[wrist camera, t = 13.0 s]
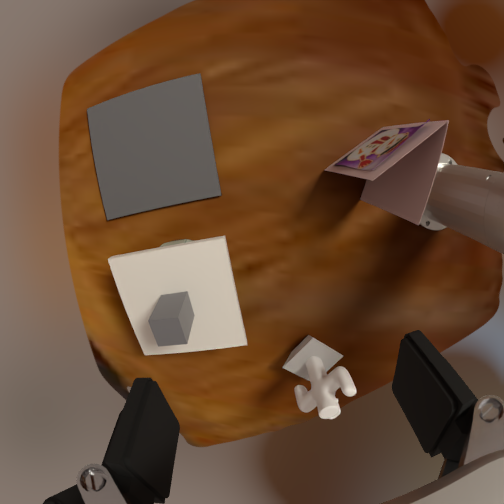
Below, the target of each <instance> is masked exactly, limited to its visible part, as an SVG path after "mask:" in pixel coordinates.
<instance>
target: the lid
mask: <svg viewBox="0 0 504 504" xmlns="http://www.w3.org/2000/svg"><path fill="white" fill-rule="evenodd" d="M108 261H109V264H110V267H111V271H112V274H113V277H114V279H115V282H116V285H117V288H118V291H119V294H120V296H121V299H122V302H123V304H124V307H125V310H126V312H127V315H128V317H129V320H130V322H131V325H132V327H133V329H134V332H135V334H136V337H137V339H138V341H139V343H140V346H141V348H142V350H143V352H144V355H157V354H171V353H183V352H193V351H203V350H212V349H221V348H229V347H236V346H243V345H247V338H246V334H245V329H244V325H243V320H242V315H241V311H240V306H239V301H238V297H237V292H236V287H235V282H234V278H233V273H232V268H231V263H230V258H229V253H228V248H227V243H226V238H225V236H220V237H214V238H208V239H203V240H197V241H191V242H186V243H180V244H175V245H169V246H164V247H159V248H153V249H148V250H143V251H137V252H132V253H127V254H122V255H117V256H112V257H110V258H109V259H108Z"/></svg>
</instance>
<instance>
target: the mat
mask: <svg viewBox="0 0 504 504" xmlns="http://www.w3.org/2000/svg"><path fill="white" fill-rule="evenodd" d="M87 113H88V121H89V129H90V136H91V143H92V150H93V156H94V161H95V167H96V172H97V177H98V182H99V187H100V191H101V196H102V200H103V205H104V209H105V213H106V217H107V220H110V219H114V218H118V217H122V216H126V215H130V214H134V213H139V212H143V211H147V210H152V209H156V208H161V207H165V206H170V205H175V204H180V203H184V202H189V201H194V200H199V199H205V198H210V197H215V196H221V190H220V185H219V179H218V174H217V168H216V162H215V157H214V151H213V146H212V140H211V134H210V128H209V122H208V117H207V111H206V105H205V99H204V93H203V86H202V80H201V74H200V73H199V74H195V75H190V76H186V77H182V78H178V79H174V80H170V81H166V82H163V83H159V84H156V85H152V86H149V87H146V88H142V89H139V90H136V91H133V92H130V93H127V94H124V95H121V96H119V97H116V98H113V99H111V100H108V101H105V102H103V103H100V104H98V105H95V106H93V107H90V108H88V109H87Z"/></svg>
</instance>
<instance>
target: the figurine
mask: <svg viewBox="0 0 504 504" xmlns="http://www.w3.org/2000/svg"><path fill="white" fill-rule="evenodd" d="M342 357H343V355H341V354H340V353H338V352H336V351H335V350H333V349H332V348H330V347H328V346H327V345H325V344H323V343H322V342H320V341H318V340H317V339H315V338H313V337H312V336H310V335H308V336H307V337H306V338H305V339H304V340H303V341H302V342H301V343H300V344H299V345H298V346H297V347H296V348H295V349H294V350H293V351H292V352H291V354H290V355H289V357H288V359H287V361H286V362H285V364H284V366H283V367H282V368H284V369H286V370H288V371H290V372H292V373H294V374H296V375H298V376H300V377H302V378H304V379H306V380H309V381H310V382H311V390H310V391H307V389H306V387H304V386H302V385H297V386H296V387H295V389H294V391H295V395H296V400H297V404H298V407H299V409H300V410H301V411H303V412H310V411H311V410H313V409H314V408H315V407H316V406H317V408H318V413H319V417H321V418H322V419H334V418H336V417H337V416H338V415H339V414H340V412H341V410H340V407H339V404H338V399H337V398H335V392H336V390H337V389H338V388H340V387H341V390H342V392H343V393H344V394H345V395H346V396H350V397H351V396H354V395H355V394H356V387H355V385H354V383H353V381H352V378H351V376H350V374H349V372H348V371H347V370H346V369H345V368H344V367H342V366H338V367H336V368H335V369H334V370H333V371H331V372H330V373H329V374H328V375H327V373H326V372H327V371H328V370H329V369H330V368H331V367H332V366H333V365H334V364H336V363H337V362H338V361H339V360H340V359H341V358H342Z"/></svg>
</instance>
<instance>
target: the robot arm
mask: <svg viewBox="0 0 504 504" xmlns="http://www.w3.org/2000/svg"><path fill="white" fill-rule="evenodd" d="M419 224H420V225H422V226H423V227H425V228H427V229H430V230H442V229H444V228H446V227H449V228H451V229H453V230H455V231H457V232H459V233H462V234H464V235H466V236H468V237H470V238H472V239H474V240H476V241H478V242H480V243H482V244H484V245H486V246H488V247H490V248H492V249H494V250H496V251H498V252H500V253H503V254H504V173H501V172H495V171H490V170H485V169H479V168H473V167H467V166H460V165H457V163H456V162H455V161H454V160H453V159H452V158H451V157H449V156H448V155H445V154H443V153H441V156H440V160H439V164H438V168H437V171H436V175H435V178H434V181H433V185H432V188H431V191H430V194H429V197H428V200H427V203H426V206H425V209H424V212H423V215H422V218H421V221H420V223H419ZM392 390H393V393H394V395H395V397H396V399H397V401H398V402H399V404H400V406H401V408H402V410H403V412H404V413H405V415H406V417H407V419H408V421H409V423H410V424H411V426H412V428H413V430H414V432H415V434H416V436H417V438H418V440H419V442H420V444H421V446H422V448H423V450H424V451H425V452H426V453H429V454H430V456H431V457H433V456H435V455H437V454H439V453H442V455H443V457H444V461H443V465H442V467H441V471H440V474H439V477H438V479H437V480H435V481H433V482H431V483H429V484H427V485H425V486H423V487H420V488H418V489H416V490H413V491H411V492H409V493H407V494H405V495H402V496H399V497H397V498H394V499H392V500H389V501H386V502H383V503H381V504H504V401H503V400H502V399H501V398H499V397H497V396H493V395H487V396H484V397H482V398H481V399H479V400H478V399H477V398H476V397H475V395H474V394H473V393H472V391H471V390H470V389H469V388H468V386H467V385H466V384H465V382H464V381H463V380H462V379H461V377H460V376H459V375H458V374H457V372H456V371H455V370H454V369H453V368H452V366H451V365H450V364H449V363H448V362H447V360H446V359H445V358H444V357H443V356H442V355H441V354H440V353H439V352H438V351H437V349H436V348H435V347H434V346H433V345H432V343H431V342H430V341H429V340H428V339H427V338H426V337H425V335H424V334H423V333H422V332H421V331H420V330H417V331H414V332H411V333H408V334H405V336H404V339H402V340H401V343H400V349H399V355H398V360H397V365H396V370H395V375H394V379H393V384H392ZM179 430H180V426H179V422H178V420H177V419H176V417H175V415H174V413H173V412H172V410H171V408H170V406H169V404H168V403H167V401H166V399H165V397H164V395H163V393H162V391H161V390H160V388H159V386H158V384H157V382H156V381H153V380H152V379H151V378H136V379H135V380H134V382H133V385H132V387H131V390H130V393H129V395H128V398H127V400H126V403H125V406H124V408H123V410H122V411H121V413H120V414H119V417H118V420H117V422H116V426H115V428H114V431H113V434H112V436H111V439H110V442H109V445H108V448H107V451H106V453H105V457H104V460H103V462H102V465H99V464H90V465H87V466H85V467H84V468H82V469H81V470H80V472H79V473H78V476H77V484H76V485H74V486H73V487H71V488H68V489H66V490H64V491H62V492H60V493H58V494H56V495H54V496H52V497H49V498H48V499H46V500H45V501H44V503H43V504H154V503H163V504H164V503H165V498H168V497H169V494H170V487H171V480H172V473H173V467H174V460H175V454H176V448H177V442H178V436H179Z"/></svg>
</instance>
